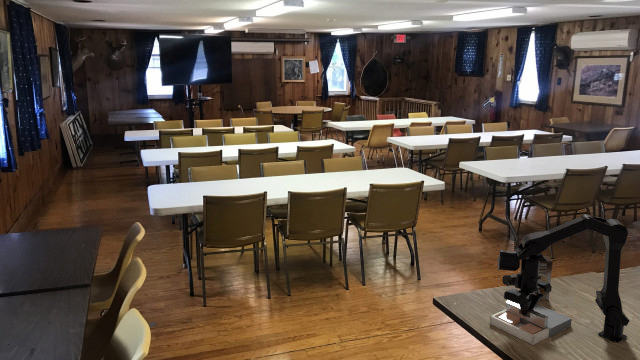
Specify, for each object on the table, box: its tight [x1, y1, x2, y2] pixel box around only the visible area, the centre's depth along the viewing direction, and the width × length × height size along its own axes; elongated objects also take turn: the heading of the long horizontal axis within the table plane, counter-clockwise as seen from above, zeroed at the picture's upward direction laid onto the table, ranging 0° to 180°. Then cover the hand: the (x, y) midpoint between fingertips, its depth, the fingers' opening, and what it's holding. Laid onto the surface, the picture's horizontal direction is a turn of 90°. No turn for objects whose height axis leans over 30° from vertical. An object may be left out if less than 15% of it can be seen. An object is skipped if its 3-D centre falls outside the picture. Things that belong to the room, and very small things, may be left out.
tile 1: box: [498, 312, 520, 326], centre depth 175 cm, size 5×5×2 cm
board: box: [507, 303, 573, 338], centre depth 177 cm, size 13×17×3 cm
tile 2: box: [520, 323, 542, 335], centre depth 168 cm, size 5×5×2 cm
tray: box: [489, 309, 550, 346], centre depth 171 cm, size 8×17×3 cm, turn 33°
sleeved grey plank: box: [505, 300, 548, 328], centre depth 172 cm, size 2×15×4 cm, turn 33°
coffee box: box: [539, 255, 554, 301], centre depth 196 cm, size 9×6×16 cm
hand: (526, 314), depth 172 cm, fingers closed on sleeved grey plank, 2 cm apart
